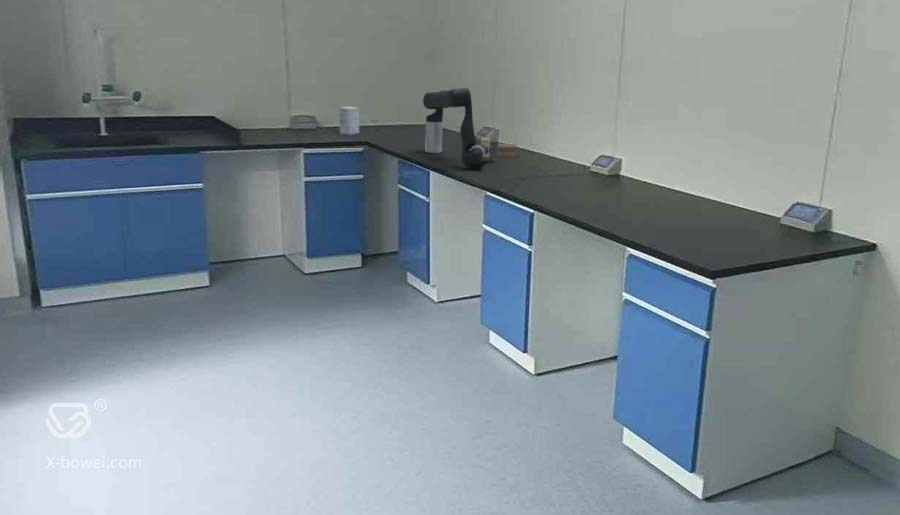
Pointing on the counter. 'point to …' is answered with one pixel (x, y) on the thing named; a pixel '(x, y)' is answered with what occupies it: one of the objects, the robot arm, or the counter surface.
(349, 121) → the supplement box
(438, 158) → the counter surface
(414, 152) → the counter surface
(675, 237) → the counter surface
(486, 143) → the oak block
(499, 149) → the walnut base
